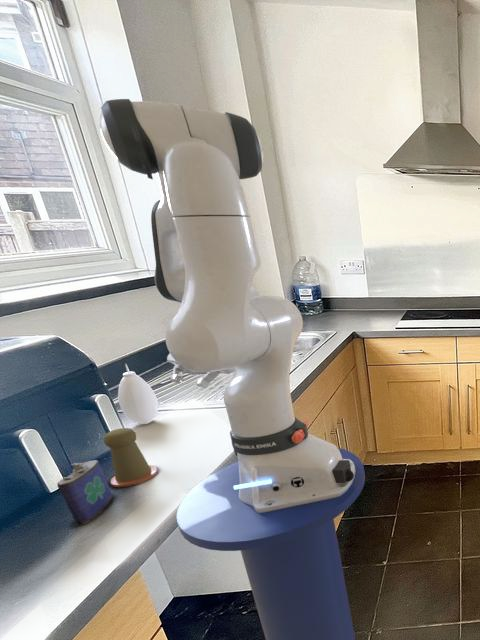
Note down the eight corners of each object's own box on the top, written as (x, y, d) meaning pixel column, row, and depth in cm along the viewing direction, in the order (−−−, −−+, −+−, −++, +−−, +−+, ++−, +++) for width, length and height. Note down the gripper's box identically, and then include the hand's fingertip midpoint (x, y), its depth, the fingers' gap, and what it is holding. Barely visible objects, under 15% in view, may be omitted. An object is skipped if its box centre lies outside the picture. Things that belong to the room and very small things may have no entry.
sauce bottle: (142, 430, 115) (121, 368, 109) (120, 427, 116) (98, 366, 110) (169, 418, 122) (151, 360, 116) (148, 416, 124) (129, 358, 117)
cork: (141, 480, 91) (125, 435, 87) (109, 483, 90) (91, 438, 86) (156, 465, 97) (142, 423, 93) (125, 469, 95) (109, 426, 92)
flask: (101, 497, 86) (83, 452, 82) (118, 495, 87) (101, 450, 83) (70, 526, 78) (48, 477, 74) (89, 523, 79) (68, 475, 75)
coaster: (165, 465, 98) (164, 463, 98) (143, 485, 90) (143, 482, 90) (126, 469, 96) (125, 467, 96) (101, 489, 89) (100, 486, 89)
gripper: (177, 326, 107) (147, 374, 102) (234, 332, 100) (204, 383, 95) (199, 339, 113) (171, 385, 107) (254, 345, 106) (227, 394, 101)
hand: (187, 384), depth 101 cm, fingers open, 8 cm apart
